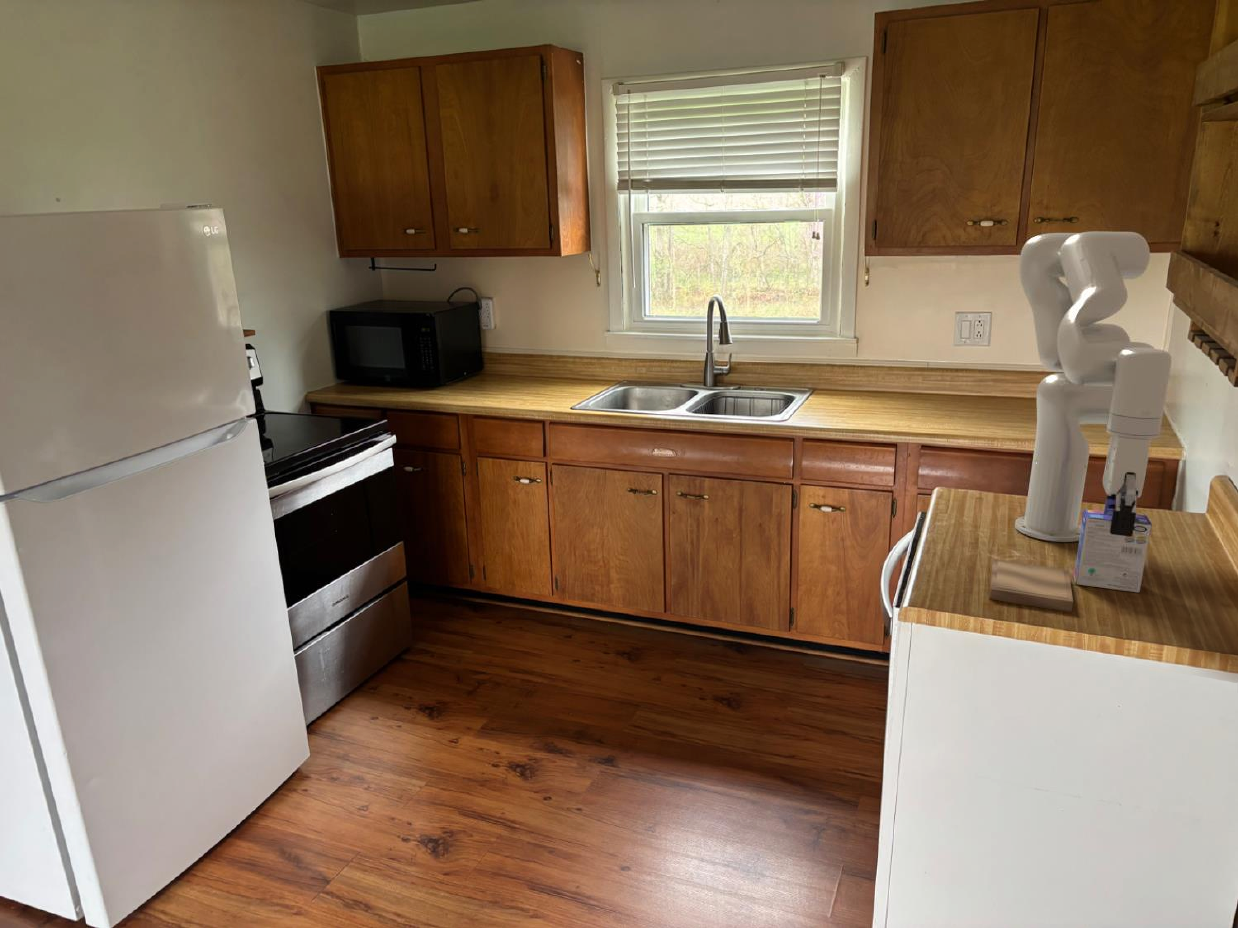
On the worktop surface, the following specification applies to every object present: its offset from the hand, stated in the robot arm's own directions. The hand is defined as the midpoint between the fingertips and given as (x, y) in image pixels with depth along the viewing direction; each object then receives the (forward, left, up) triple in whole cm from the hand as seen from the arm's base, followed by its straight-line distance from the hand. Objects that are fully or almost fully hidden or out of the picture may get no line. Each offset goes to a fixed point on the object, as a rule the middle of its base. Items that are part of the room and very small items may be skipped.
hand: (1117, 526), depth 148 cm
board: (+7, -12, -11) cm, 18 cm away
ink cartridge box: (-1, 0, -11) cm, 11 cm away
